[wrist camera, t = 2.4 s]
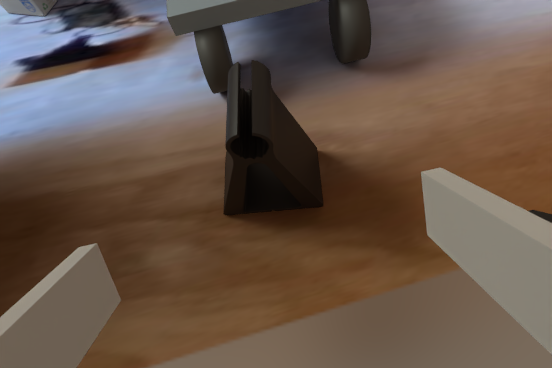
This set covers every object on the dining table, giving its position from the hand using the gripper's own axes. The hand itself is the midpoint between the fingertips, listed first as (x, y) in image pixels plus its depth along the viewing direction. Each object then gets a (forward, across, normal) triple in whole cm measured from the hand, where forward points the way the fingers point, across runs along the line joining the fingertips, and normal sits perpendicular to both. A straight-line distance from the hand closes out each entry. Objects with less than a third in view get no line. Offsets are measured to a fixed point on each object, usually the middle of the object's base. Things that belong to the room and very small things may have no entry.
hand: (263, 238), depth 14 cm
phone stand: (+18, 0, -3) cm, 19 cm away
